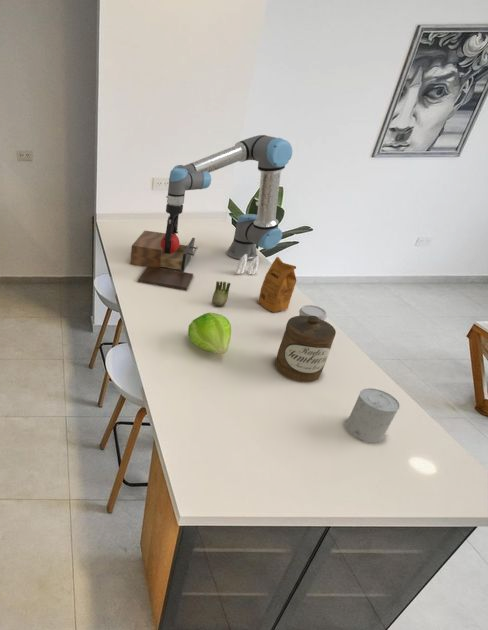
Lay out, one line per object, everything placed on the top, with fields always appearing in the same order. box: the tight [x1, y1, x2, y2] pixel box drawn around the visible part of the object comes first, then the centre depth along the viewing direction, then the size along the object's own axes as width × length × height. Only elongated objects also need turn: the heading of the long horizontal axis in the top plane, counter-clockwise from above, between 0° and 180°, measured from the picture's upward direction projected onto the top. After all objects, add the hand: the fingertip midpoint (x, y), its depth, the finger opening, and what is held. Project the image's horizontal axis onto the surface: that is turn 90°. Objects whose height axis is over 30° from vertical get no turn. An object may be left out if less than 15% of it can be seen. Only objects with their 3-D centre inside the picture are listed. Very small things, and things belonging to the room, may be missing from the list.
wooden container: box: [274, 315, 336, 383], centre depth 145 cm, size 15×15×22 cm
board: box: [137, 266, 194, 292], centre depth 213 cm, size 24×17×2 cm
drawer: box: [160, 237, 199, 272], centre depth 228 cm, size 20×25×10 cm
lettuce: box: [187, 312, 232, 356], centre depth 159 cm, size 15×20×14 cm
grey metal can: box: [345, 387, 401, 444], centre depth 122 cm, size 10×10×12 cm
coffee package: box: [257, 256, 297, 313], centre depth 183 cm, size 10×12×22 cm
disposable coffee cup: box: [298, 304, 328, 321], centre depth 165 cm, size 10×10×12 cm
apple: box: [161, 233, 181, 254], centre depth 204 cm, size 9×9×10 cm
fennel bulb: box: [211, 280, 231, 308], centre depth 187 cm, size 6×5×12 cm
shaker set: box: [235, 254, 260, 276], centre depth 214 cm, size 12×4×11 cm, turn 97°
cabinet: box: [130, 230, 166, 268], centre depth 233 cm, size 16×25×11 cm, turn 155°
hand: (169, 249), depth 206 cm, fingers closed on apple, 9 cm apart
